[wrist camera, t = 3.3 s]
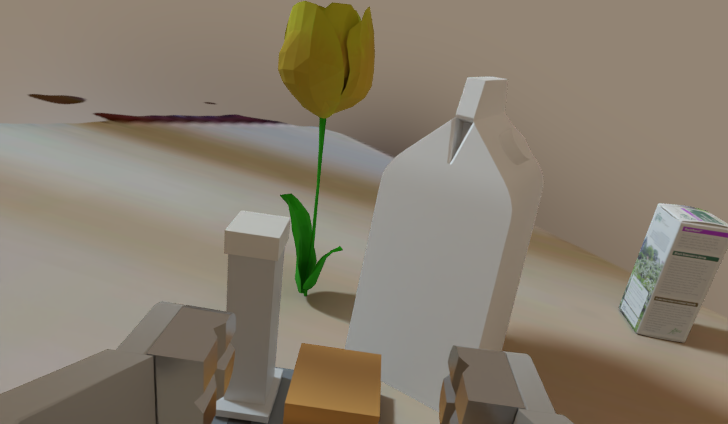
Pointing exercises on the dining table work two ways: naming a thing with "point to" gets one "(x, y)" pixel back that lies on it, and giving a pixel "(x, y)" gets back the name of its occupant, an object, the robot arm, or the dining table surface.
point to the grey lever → (254, 313)
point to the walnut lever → (334, 387)
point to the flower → (323, 94)
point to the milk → (447, 244)
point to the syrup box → (674, 271)
